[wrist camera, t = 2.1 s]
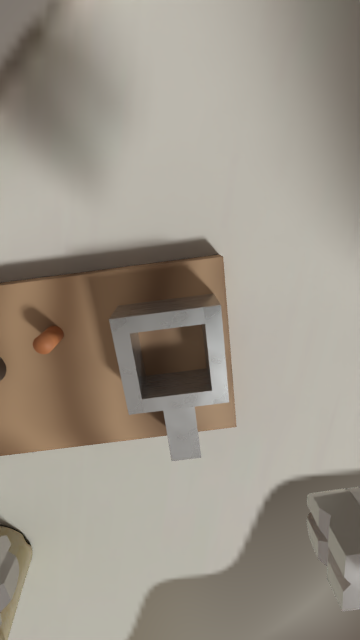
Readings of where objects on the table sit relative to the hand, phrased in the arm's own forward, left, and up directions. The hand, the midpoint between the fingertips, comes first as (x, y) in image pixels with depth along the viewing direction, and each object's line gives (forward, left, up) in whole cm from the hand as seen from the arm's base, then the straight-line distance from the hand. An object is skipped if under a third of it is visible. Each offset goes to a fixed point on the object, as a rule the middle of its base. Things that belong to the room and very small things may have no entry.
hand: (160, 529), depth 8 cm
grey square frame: (0, +2, -13) cm, 13 cm away
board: (+7, +1, -15) cm, 16 cm away
